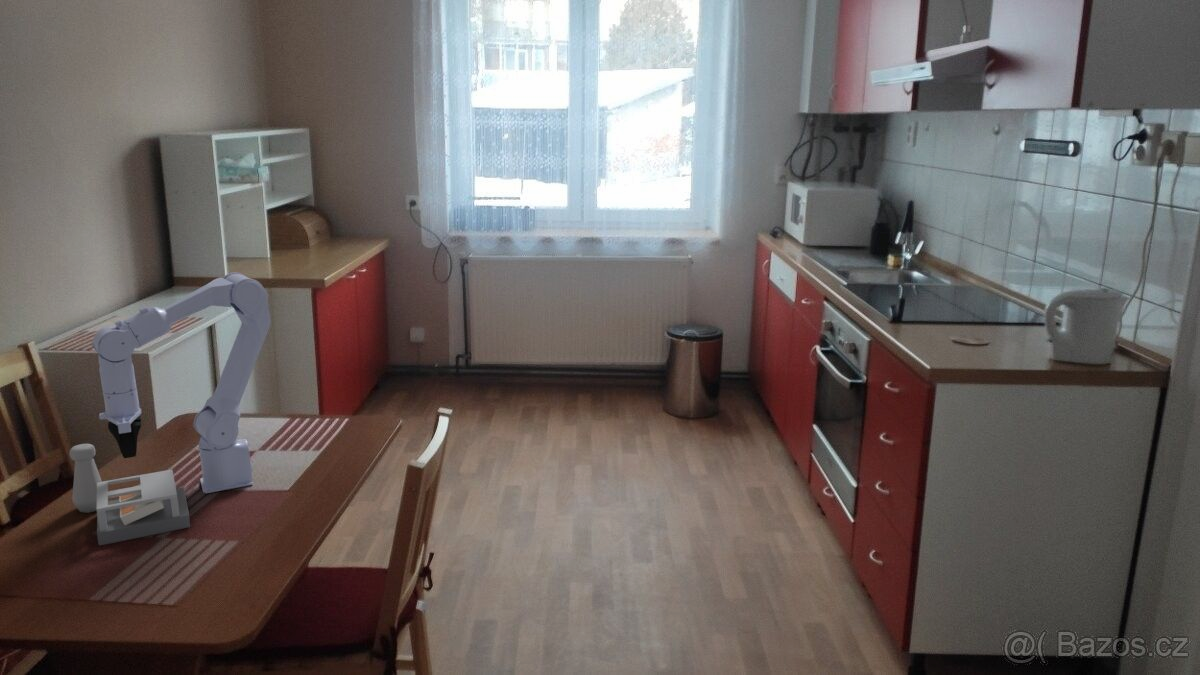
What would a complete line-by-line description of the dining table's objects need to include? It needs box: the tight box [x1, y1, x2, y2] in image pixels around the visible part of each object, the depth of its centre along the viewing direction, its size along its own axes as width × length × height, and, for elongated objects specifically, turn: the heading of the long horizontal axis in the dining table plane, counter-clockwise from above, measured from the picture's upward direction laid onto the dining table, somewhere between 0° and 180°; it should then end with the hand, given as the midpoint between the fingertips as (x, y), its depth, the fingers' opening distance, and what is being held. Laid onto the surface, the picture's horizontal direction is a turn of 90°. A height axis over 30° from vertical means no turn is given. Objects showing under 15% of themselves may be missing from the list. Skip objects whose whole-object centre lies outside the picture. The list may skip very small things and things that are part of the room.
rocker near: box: [120, 497, 164, 525], centre depth 163 cm, size 7×5×2 cm
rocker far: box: [118, 483, 142, 503], centre depth 169 cm, size 7×5×2 cm
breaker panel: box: [96, 469, 191, 546], centre depth 166 cm, size 15×14×7 cm
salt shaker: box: [69, 443, 103, 514], centre depth 171 cm, size 6×6×13 cm
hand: (129, 456), depth 171 cm, fingers closed
